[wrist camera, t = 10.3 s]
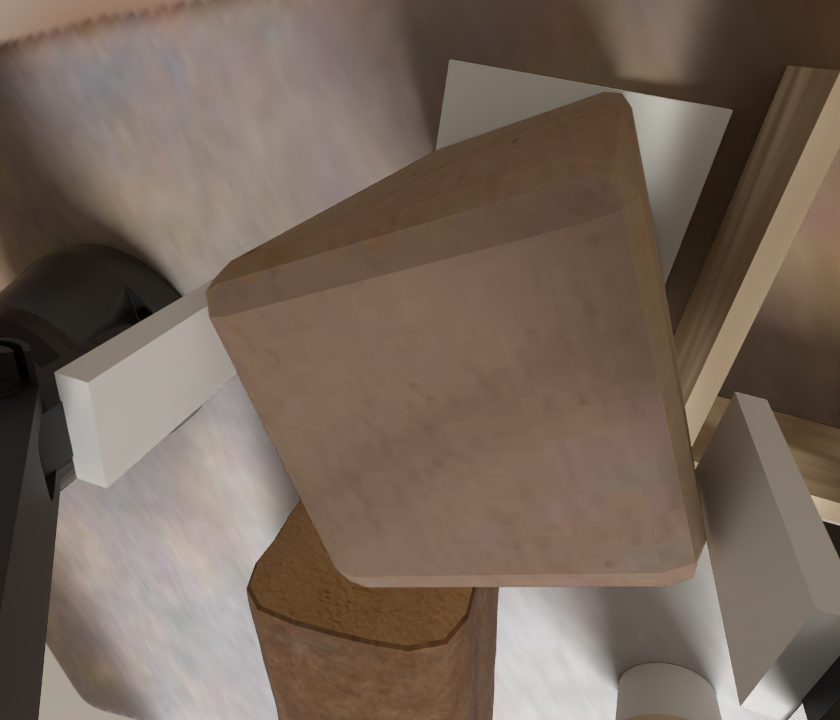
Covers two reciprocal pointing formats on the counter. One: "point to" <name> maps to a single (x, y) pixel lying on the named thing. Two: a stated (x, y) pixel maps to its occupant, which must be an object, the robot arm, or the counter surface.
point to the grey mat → (654, 120)
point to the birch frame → (763, 269)
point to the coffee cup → (665, 694)
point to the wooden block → (479, 365)
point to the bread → (368, 639)
